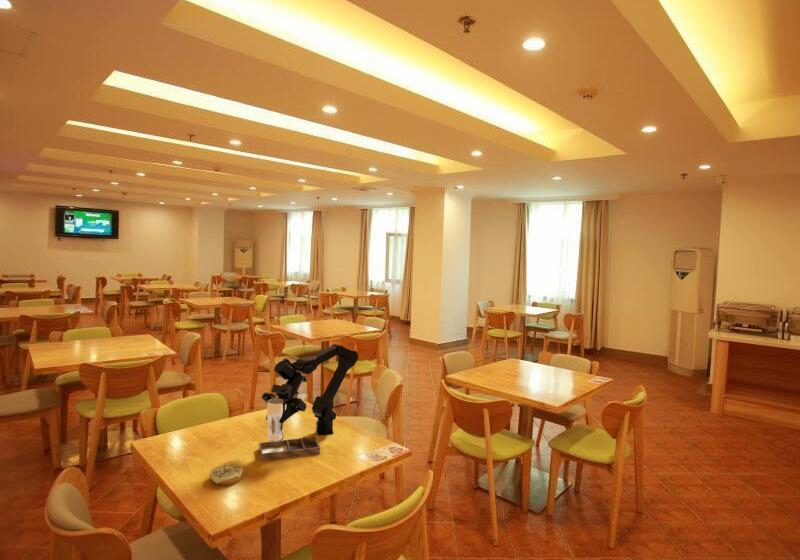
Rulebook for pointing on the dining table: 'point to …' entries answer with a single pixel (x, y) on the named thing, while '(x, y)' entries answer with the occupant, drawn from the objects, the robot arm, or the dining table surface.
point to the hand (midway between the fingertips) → (273, 421)
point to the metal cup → (275, 419)
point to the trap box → (288, 448)
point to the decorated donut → (226, 474)
